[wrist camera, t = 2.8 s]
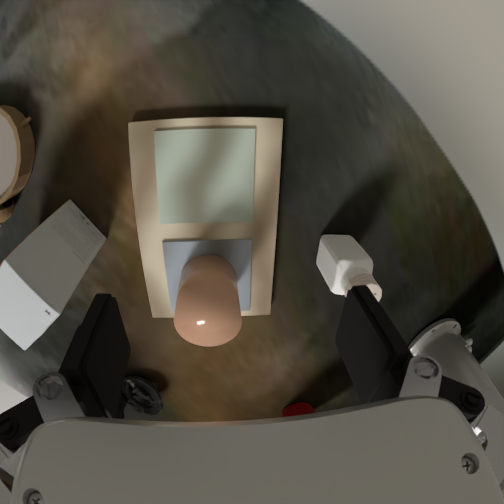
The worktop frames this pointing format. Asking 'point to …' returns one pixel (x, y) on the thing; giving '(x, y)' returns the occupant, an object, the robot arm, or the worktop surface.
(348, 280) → the salt shaker
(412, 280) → the worktop surface
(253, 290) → the board
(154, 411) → the milk frother
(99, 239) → the small box
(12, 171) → the alarm clock
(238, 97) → the worktop surface
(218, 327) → the peach rounded cylinder
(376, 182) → the worktop surface
